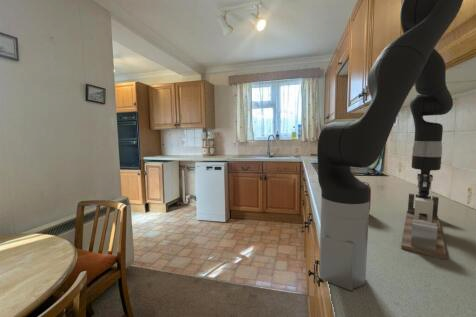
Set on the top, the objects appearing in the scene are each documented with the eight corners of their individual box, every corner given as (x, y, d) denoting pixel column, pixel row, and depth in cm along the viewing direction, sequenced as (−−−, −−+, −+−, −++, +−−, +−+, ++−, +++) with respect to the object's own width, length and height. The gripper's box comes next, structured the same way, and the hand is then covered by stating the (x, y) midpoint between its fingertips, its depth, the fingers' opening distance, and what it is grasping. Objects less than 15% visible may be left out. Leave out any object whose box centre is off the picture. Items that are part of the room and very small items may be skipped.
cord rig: (446, 259, 56) (449, 227, 55) (401, 248, 61) (402, 219, 60) (437, 218, 83) (439, 196, 82) (406, 213, 88) (408, 192, 88)
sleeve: (431, 223, 71) (433, 202, 70) (413, 220, 73) (415, 200, 73) (431, 220, 74) (432, 199, 73) (414, 217, 77) (415, 197, 76)
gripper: (443, 157, 68) (438, 213, 70) (440, 154, 78) (436, 203, 80) (411, 155, 73) (408, 208, 74) (412, 153, 83) (409, 199, 85)
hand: (422, 205), depth 77 cm, fingers closed
